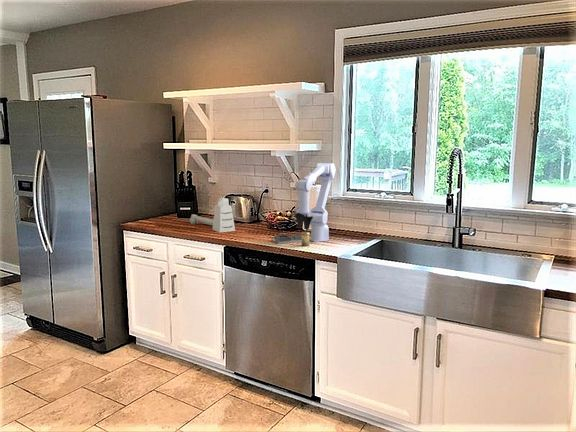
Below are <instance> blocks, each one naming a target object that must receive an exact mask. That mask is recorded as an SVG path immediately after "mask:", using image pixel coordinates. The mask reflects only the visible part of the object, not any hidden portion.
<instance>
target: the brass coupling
mask: <svg viewBox="0 0 576 432" xmlns="http://www.w3.org/2000/svg"><path fill="white" fill-rule="evenodd" d="M300 235H302V242H301V246H302V247H310V240H309V238H310V236H311V231H302V232H301V233H300Z"/></svg>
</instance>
